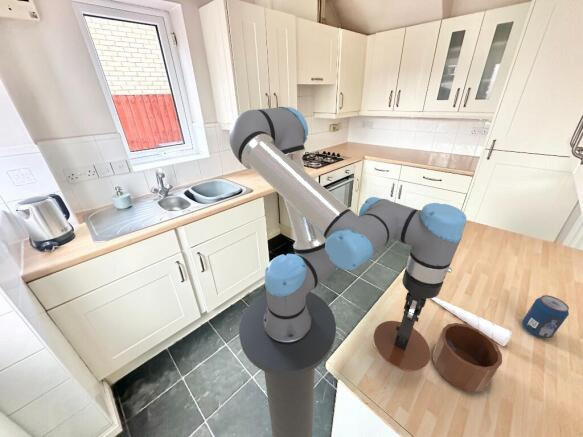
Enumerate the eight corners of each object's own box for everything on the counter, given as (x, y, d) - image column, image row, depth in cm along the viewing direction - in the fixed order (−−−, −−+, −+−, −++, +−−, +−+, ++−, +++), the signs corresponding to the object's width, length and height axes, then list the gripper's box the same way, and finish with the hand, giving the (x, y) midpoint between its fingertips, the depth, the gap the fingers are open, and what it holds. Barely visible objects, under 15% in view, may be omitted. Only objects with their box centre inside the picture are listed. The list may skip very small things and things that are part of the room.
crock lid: (365, 351, 63) (370, 330, 59) (382, 315, 73) (387, 294, 68) (423, 385, 56) (433, 363, 52) (433, 340, 66) (442, 318, 61)
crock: (428, 372, 64) (438, 350, 60) (436, 337, 73) (445, 315, 69) (487, 403, 58) (503, 381, 53) (487, 360, 67) (501, 338, 62)
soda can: (532, 319, 78) (550, 291, 72) (557, 338, 72) (579, 310, 66) (514, 323, 77) (531, 295, 71) (538, 342, 71) (559, 314, 65)
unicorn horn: (432, 291, 89) (435, 281, 87) (509, 341, 71) (516, 331, 69) (424, 296, 87) (427, 286, 85) (502, 349, 69) (509, 339, 67)
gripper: (438, 305, 44) (409, 376, 56) (448, 260, 56) (423, 327, 67) (396, 288, 48) (377, 357, 60) (414, 249, 60) (395, 314, 71)
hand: (401, 341), depth 63 cm, fingers closed on crock lid, 3 cm apart
